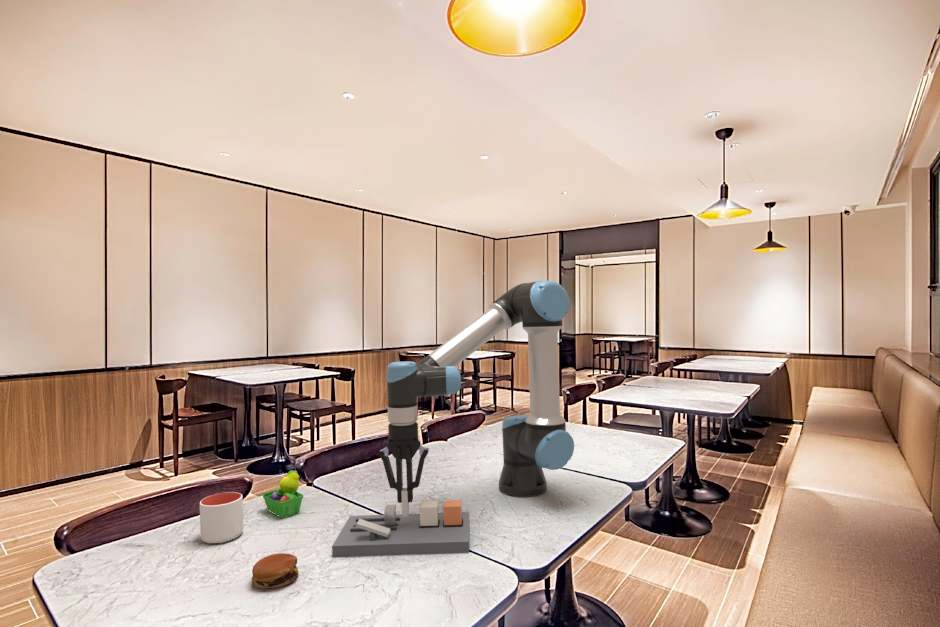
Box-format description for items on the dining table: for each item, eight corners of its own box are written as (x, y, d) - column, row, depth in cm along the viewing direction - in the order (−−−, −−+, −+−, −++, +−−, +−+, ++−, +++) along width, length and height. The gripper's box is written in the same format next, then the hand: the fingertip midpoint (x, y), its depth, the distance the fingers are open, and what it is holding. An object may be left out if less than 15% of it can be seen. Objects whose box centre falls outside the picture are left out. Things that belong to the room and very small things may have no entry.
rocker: (389, 531, 124) (390, 528, 124) (387, 537, 121) (388, 534, 121) (358, 521, 124) (359, 518, 124) (355, 526, 121) (356, 523, 121)
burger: (247, 578, 111) (246, 556, 111) (291, 565, 116) (290, 544, 116) (257, 598, 102) (257, 574, 103) (304, 583, 108) (303, 561, 108)
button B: (438, 518, 132) (438, 500, 132) (437, 525, 128) (437, 507, 128) (421, 519, 132) (421, 501, 132) (420, 526, 128) (419, 507, 128)
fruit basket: (261, 511, 149) (260, 473, 149) (289, 502, 155) (288, 465, 155) (280, 521, 141) (278, 480, 141) (309, 511, 148) (308, 472, 148)
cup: (226, 547, 126) (225, 506, 126) (191, 544, 128) (190, 505, 128) (251, 530, 136) (250, 492, 136) (218, 528, 138) (217, 491, 138)
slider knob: (396, 520, 132) (395, 504, 132) (394, 525, 128) (393, 509, 128) (387, 520, 132) (386, 504, 132) (384, 526, 128) (384, 510, 128)
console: (469, 521, 137) (468, 506, 137) (469, 552, 119) (468, 535, 119) (350, 525, 137) (349, 510, 137) (332, 556, 119) (331, 540, 119)
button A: (461, 517, 132) (461, 500, 132) (461, 524, 128) (461, 506, 128) (444, 518, 132) (444, 500, 132) (444, 525, 128) (443, 506, 128)
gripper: (429, 418, 134) (432, 508, 134) (380, 420, 134) (382, 509, 134) (427, 424, 126) (430, 519, 126) (374, 426, 126) (377, 521, 126)
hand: (405, 514), depth 130 cm, fingers closed
